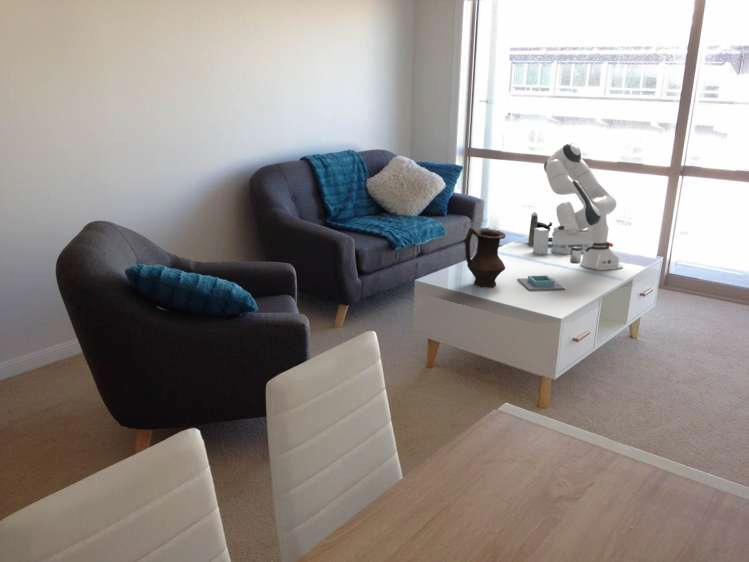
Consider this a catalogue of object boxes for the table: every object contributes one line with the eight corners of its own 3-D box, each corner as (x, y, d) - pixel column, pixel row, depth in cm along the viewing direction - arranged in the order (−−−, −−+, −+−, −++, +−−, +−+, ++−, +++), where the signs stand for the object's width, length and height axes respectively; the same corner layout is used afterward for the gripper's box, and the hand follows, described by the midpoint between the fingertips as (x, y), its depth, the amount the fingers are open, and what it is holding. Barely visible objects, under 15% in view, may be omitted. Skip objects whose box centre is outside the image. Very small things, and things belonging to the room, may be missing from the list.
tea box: (567, 254, 389) (569, 230, 384) (550, 252, 394) (553, 228, 390) (574, 249, 401) (577, 226, 397) (558, 247, 406) (561, 223, 402)
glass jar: (577, 260, 328) (579, 245, 326) (582, 263, 323) (583, 247, 321) (568, 261, 328) (569, 245, 325) (572, 263, 323) (573, 248, 320)
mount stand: (551, 279, 339) (551, 273, 338) (564, 290, 322) (565, 283, 321) (517, 280, 337) (517, 273, 336) (529, 291, 320) (529, 284, 319)
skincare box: (547, 254, 389) (550, 230, 384) (538, 254, 387) (540, 230, 383) (541, 251, 396) (543, 227, 392) (532, 251, 395) (534, 227, 391)
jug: (493, 278, 340) (497, 221, 331) (510, 288, 323) (514, 229, 314) (456, 280, 335) (459, 223, 326) (470, 291, 318) (474, 231, 309)
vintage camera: (553, 248, 406) (557, 216, 400) (528, 245, 408) (532, 214, 403) (552, 244, 415) (556, 213, 409) (527, 242, 417) (531, 211, 412)
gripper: (587, 233, 334) (593, 256, 328) (548, 234, 332) (554, 257, 325) (592, 226, 329) (598, 250, 322) (553, 227, 326) (559, 251, 320)
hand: (576, 254), depth 324 cm, fingers closed on glass jar, 5 cm apart
